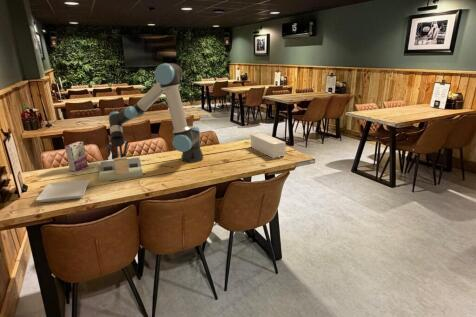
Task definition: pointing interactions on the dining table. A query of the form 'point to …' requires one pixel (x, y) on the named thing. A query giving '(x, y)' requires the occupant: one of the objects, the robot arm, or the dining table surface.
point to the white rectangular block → (268, 145)
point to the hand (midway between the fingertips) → (120, 166)
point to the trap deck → (110, 174)
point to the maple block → (121, 165)
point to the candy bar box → (76, 156)
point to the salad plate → (63, 191)
